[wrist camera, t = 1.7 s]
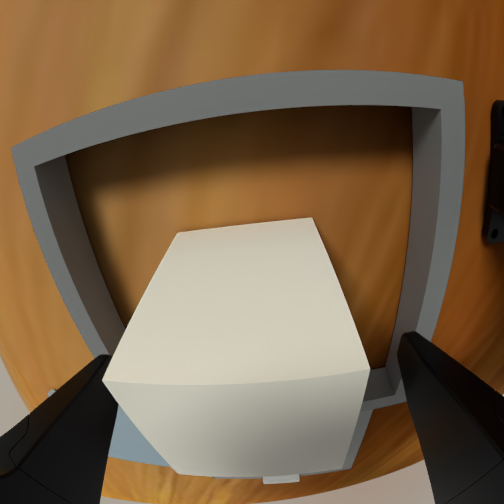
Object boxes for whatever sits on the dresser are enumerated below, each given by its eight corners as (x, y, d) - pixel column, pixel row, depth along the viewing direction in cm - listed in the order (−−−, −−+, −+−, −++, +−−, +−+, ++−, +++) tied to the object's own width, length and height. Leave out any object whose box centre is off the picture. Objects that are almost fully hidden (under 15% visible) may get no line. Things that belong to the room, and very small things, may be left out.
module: (311, 217, 11) (369, 368, 5) (314, 327, 13) (340, 471, 7) (177, 232, 11) (101, 380, 5) (206, 336, 14) (181, 476, 7)
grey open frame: (431, 81, 8) (462, 81, 6) (365, 456, 21) (369, 474, 19) (42, 137, 9) (10, 147, 7) (197, 468, 22) (195, 486, 20)
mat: (165, 404, 16) (163, 411, 16) (204, 463, 21) (203, 469, 21) (50, 389, 17) (47, 395, 17) (107, 451, 22) (105, 455, 21)
